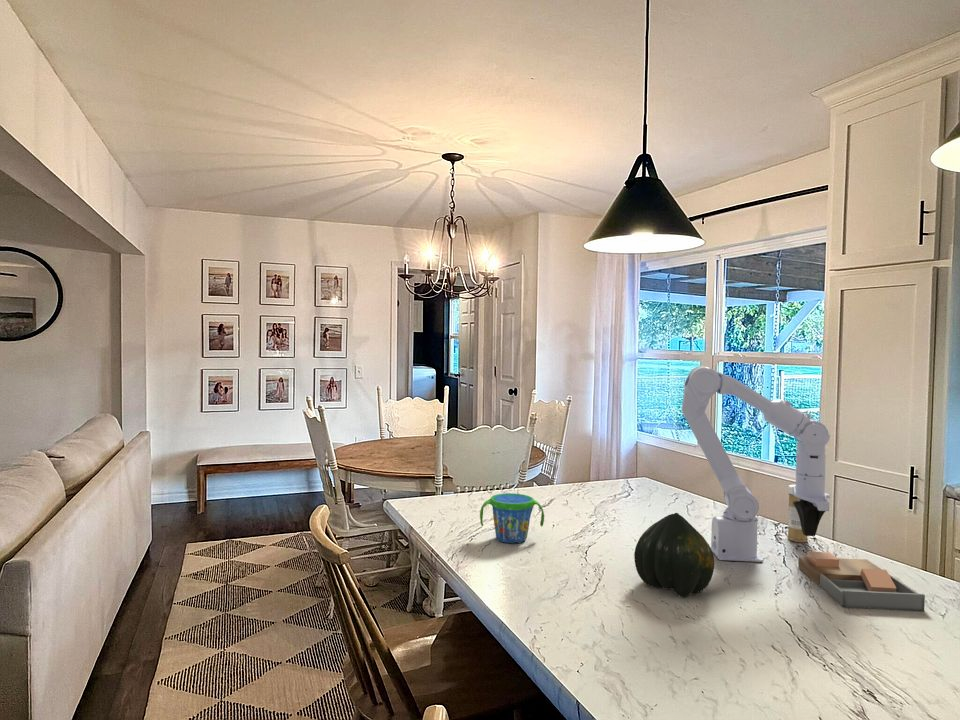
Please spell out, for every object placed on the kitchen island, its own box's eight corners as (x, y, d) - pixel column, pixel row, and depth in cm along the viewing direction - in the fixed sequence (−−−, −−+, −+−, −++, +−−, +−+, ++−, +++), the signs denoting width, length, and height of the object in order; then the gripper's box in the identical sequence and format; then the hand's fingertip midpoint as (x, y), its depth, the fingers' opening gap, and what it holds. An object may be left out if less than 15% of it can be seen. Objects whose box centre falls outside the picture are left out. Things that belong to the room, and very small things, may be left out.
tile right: (869, 592, 122) (871, 586, 121) (860, 574, 126) (862, 568, 125) (894, 594, 122) (896, 588, 121) (884, 575, 125) (886, 569, 125)
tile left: (816, 566, 131) (816, 558, 130) (807, 558, 135) (807, 551, 135) (839, 567, 130) (839, 559, 130) (829, 559, 135) (829, 552, 135)
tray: (843, 607, 116) (843, 591, 116) (819, 586, 126) (819, 571, 126) (924, 611, 115) (924, 594, 115) (893, 589, 125) (894, 574, 125)
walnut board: (818, 585, 127) (818, 573, 126) (798, 567, 136) (798, 556, 136) (892, 588, 125) (892, 576, 125) (866, 570, 135) (867, 559, 135)
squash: (662, 581, 113) (702, 512, 118) (608, 559, 126) (646, 497, 131) (705, 623, 118) (742, 555, 123) (649, 597, 131) (684, 536, 136)
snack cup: (543, 533, 158) (543, 493, 158) (544, 547, 148) (545, 504, 147) (480, 532, 159) (481, 492, 159) (478, 545, 149) (478, 502, 148)
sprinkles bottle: (811, 541, 155) (813, 486, 155) (801, 544, 152) (802, 488, 152) (793, 536, 159) (794, 483, 158) (783, 539, 156) (784, 485, 156)
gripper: (845, 481, 132) (843, 546, 132) (815, 467, 146) (813, 526, 147) (809, 480, 132) (808, 544, 133) (783, 467, 147) (782, 525, 147)
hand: (809, 535), depth 140 cm, fingers closed
